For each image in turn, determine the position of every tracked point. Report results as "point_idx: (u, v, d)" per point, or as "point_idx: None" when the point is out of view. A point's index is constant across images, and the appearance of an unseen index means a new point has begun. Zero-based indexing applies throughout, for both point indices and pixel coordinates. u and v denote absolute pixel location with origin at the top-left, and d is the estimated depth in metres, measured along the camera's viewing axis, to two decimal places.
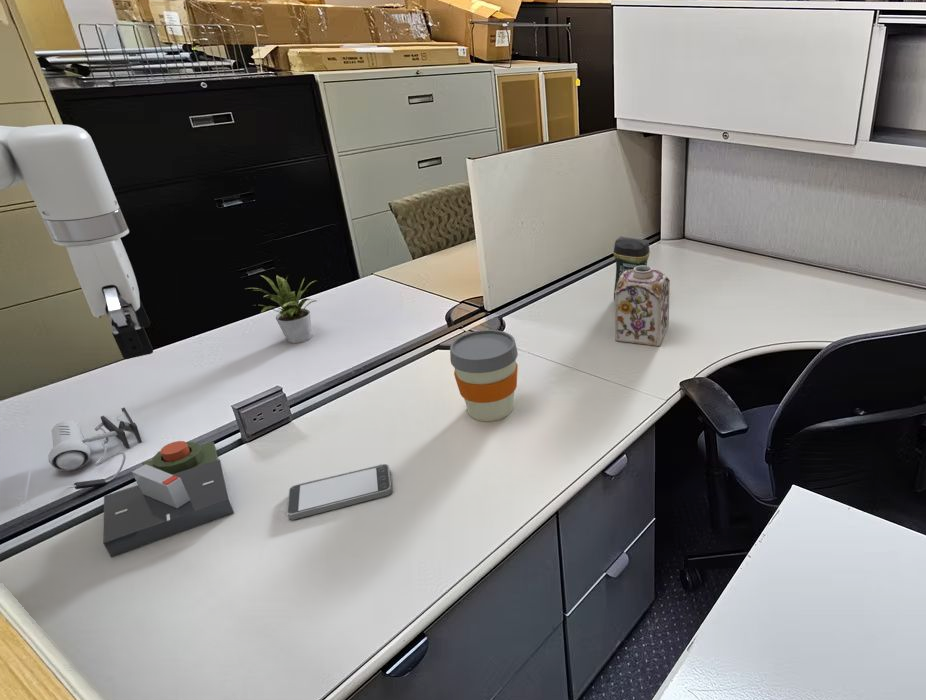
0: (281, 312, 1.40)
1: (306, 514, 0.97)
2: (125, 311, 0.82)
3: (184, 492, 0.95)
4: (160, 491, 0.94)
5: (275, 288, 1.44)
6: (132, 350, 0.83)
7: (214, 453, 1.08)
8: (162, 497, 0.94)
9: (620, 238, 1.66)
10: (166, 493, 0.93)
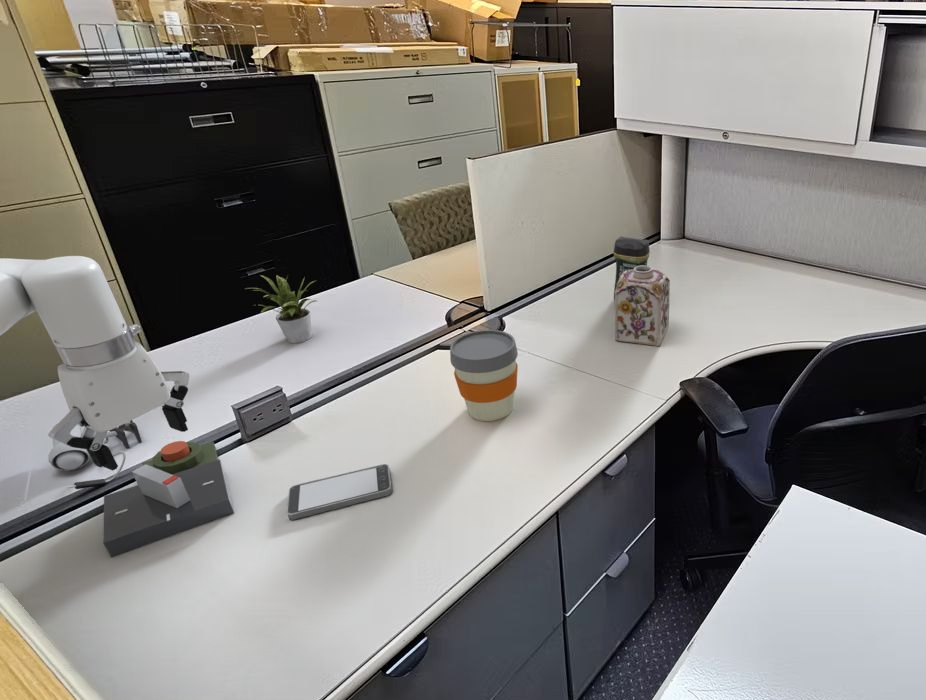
0: (281, 312, 1.40)
1: (306, 514, 0.97)
2: (94, 430, 0.85)
3: (184, 492, 0.95)
4: (160, 491, 0.94)
5: (275, 288, 1.44)
6: (95, 463, 0.86)
7: (214, 453, 1.08)
8: (162, 497, 0.94)
9: (620, 238, 1.66)
10: (166, 493, 0.93)
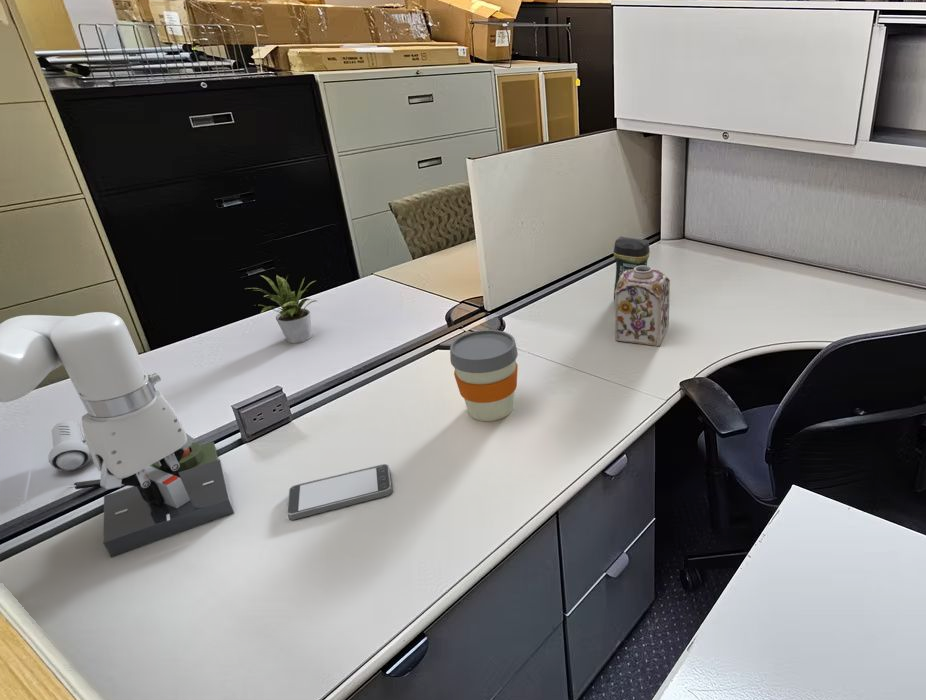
0: (281, 312, 1.40)
1: (306, 514, 0.97)
2: (133, 473, 0.91)
3: (184, 492, 0.95)
4: (160, 491, 0.94)
5: (275, 288, 1.44)
6: (144, 498, 0.93)
7: (214, 453, 1.08)
8: None
9: (620, 238, 1.66)
10: (166, 493, 0.93)
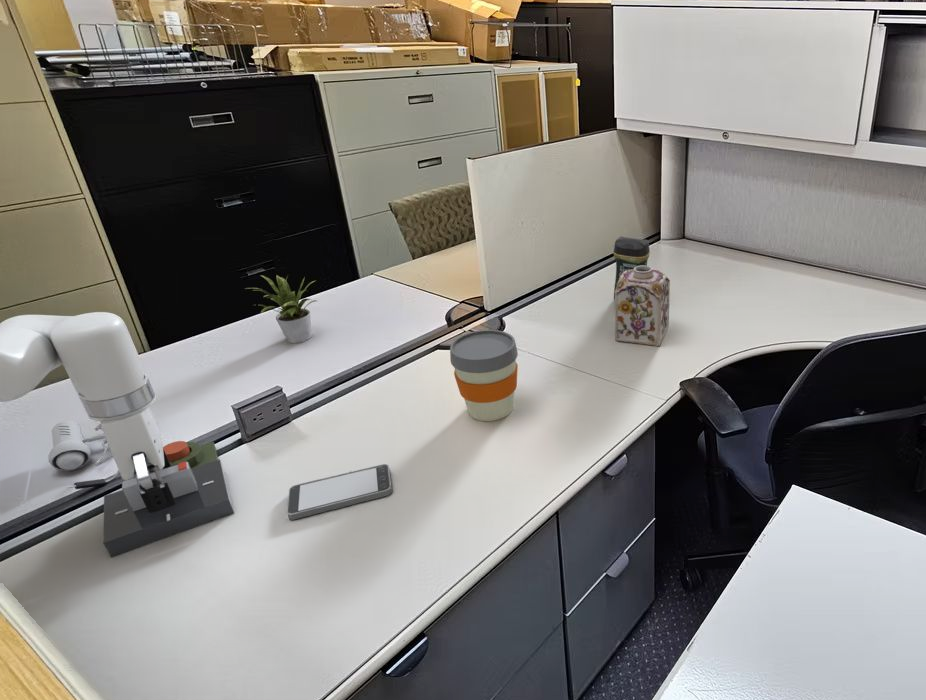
0: (281, 312, 1.40)
1: (306, 514, 0.97)
2: (151, 471, 0.90)
3: (193, 475, 0.98)
4: (172, 484, 0.95)
5: (275, 288, 1.44)
6: (157, 505, 0.91)
7: (214, 453, 1.08)
8: (174, 490, 0.96)
9: (620, 238, 1.66)
10: (184, 479, 0.96)
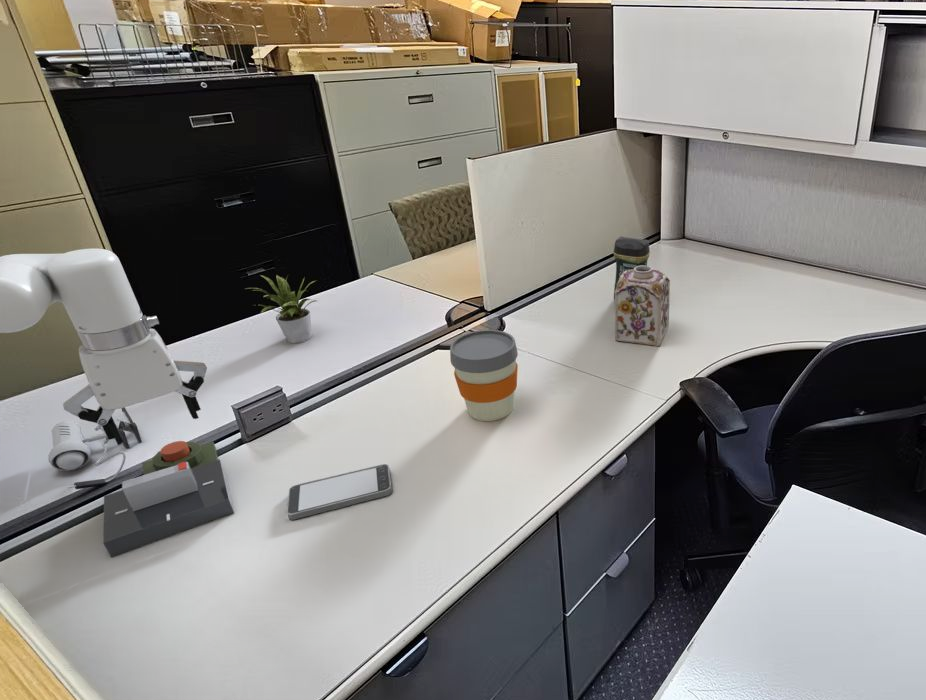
0: (281, 312, 1.40)
1: (306, 514, 0.97)
2: None
3: (193, 475, 0.98)
4: (172, 484, 0.95)
5: (275, 288, 1.44)
6: None
7: (214, 453, 1.08)
8: (174, 490, 0.96)
9: (620, 238, 1.66)
10: (184, 479, 0.96)
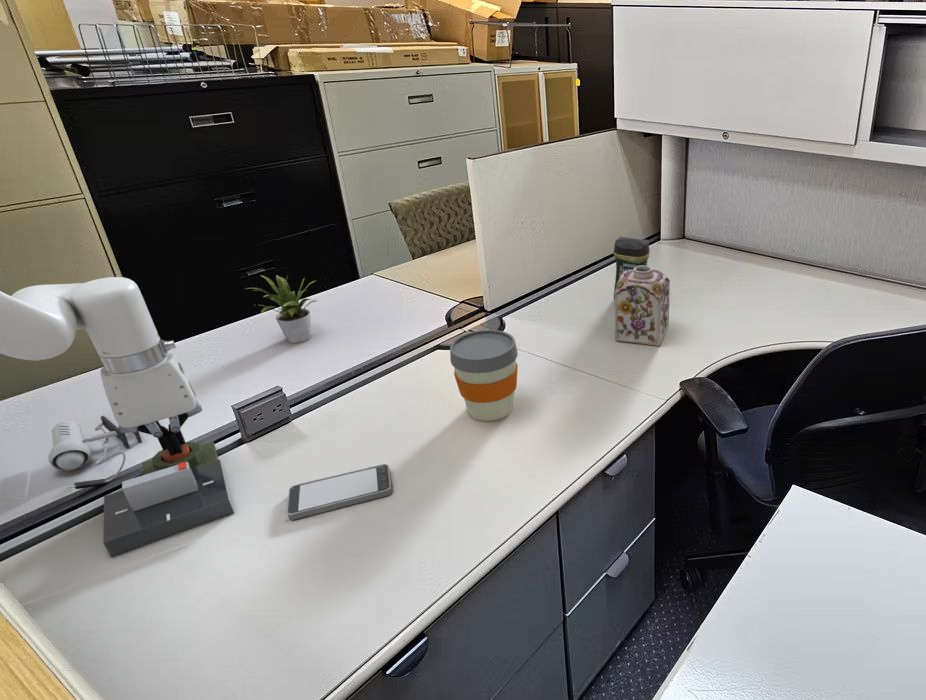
0: (281, 312, 1.40)
1: (306, 514, 0.97)
2: None
3: (193, 475, 0.98)
4: (172, 484, 0.95)
5: (275, 288, 1.44)
6: None
7: (214, 453, 1.08)
8: (174, 490, 0.96)
9: (620, 238, 1.66)
10: (184, 479, 0.96)
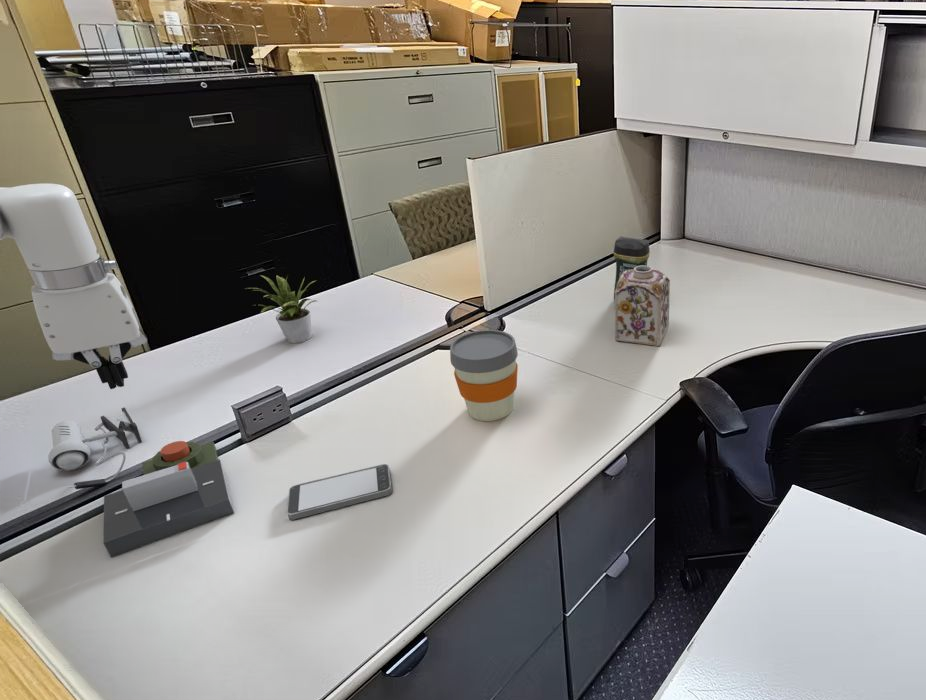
0: (281, 312, 1.40)
1: (306, 514, 0.97)
2: None
3: (193, 475, 0.98)
4: (172, 484, 0.95)
5: (275, 288, 1.44)
6: None
7: (214, 453, 1.08)
8: (174, 490, 0.96)
9: (620, 238, 1.66)
10: (184, 479, 0.96)
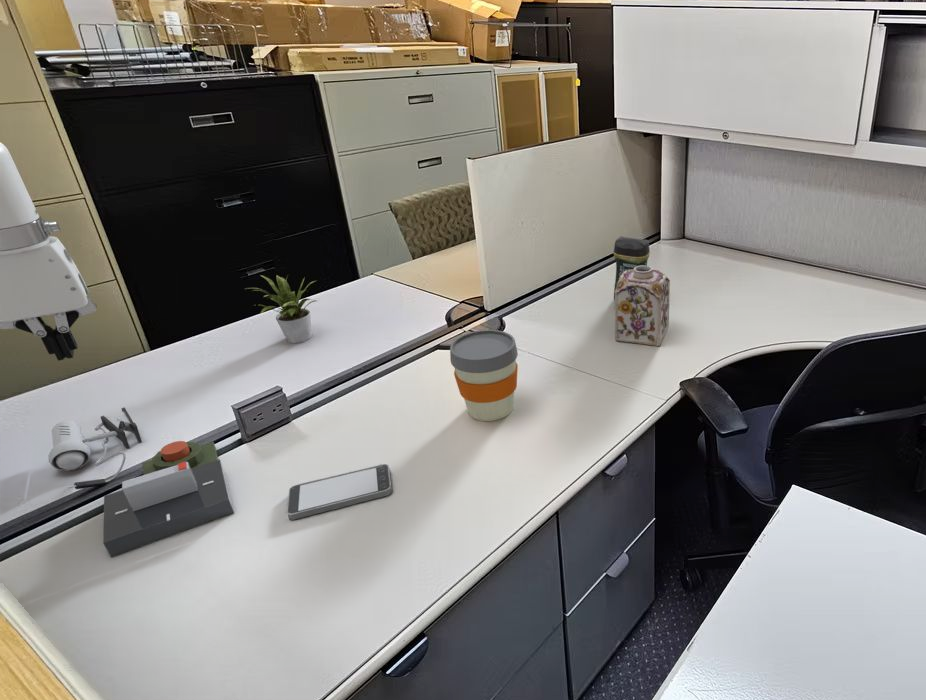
0: (281, 312, 1.40)
1: (306, 514, 0.97)
2: None
3: (193, 475, 0.98)
4: (172, 484, 0.95)
5: (275, 288, 1.44)
6: None
7: (214, 453, 1.08)
8: (174, 490, 0.96)
9: (620, 238, 1.66)
10: (184, 479, 0.96)
